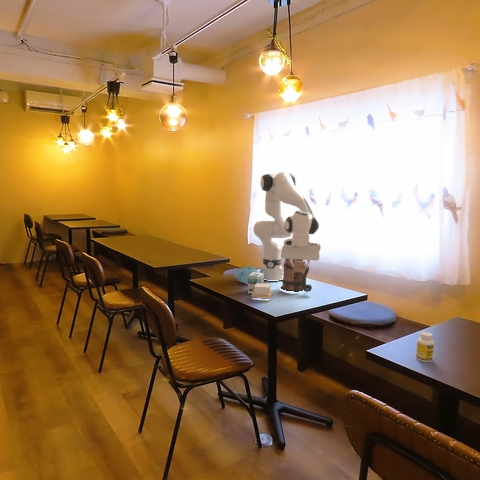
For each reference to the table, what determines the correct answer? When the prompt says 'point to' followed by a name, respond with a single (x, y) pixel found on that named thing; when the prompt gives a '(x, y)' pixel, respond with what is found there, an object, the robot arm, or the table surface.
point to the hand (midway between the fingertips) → (299, 267)
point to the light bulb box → (254, 280)
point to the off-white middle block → (262, 288)
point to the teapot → (246, 273)
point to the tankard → (294, 278)
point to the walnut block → (299, 266)
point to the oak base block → (261, 295)
